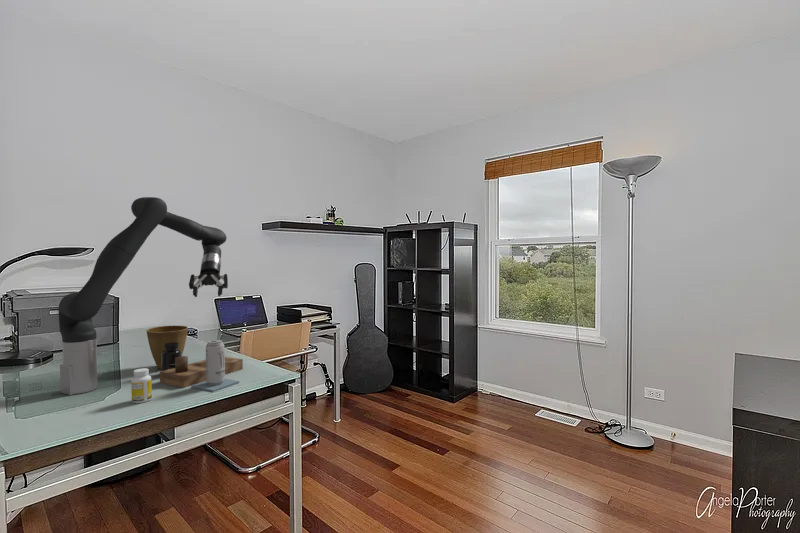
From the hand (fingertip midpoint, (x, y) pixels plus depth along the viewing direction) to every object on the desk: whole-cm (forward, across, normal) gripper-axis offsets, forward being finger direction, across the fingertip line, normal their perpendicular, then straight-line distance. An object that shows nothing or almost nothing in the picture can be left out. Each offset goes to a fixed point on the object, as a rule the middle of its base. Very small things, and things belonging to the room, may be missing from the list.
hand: (207, 295), depth 163 cm
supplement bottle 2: (+22, -13, +20) cm, 33 cm away
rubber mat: (+36, +5, +6) cm, 37 cm away
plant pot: (+14, -17, +29) cm, 36 cm away
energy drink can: (+36, +5, +6) cm, 37 cm away
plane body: (+27, -1, +16) cm, 31 cm away
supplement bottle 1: (+44, -15, -1) cm, 46 cm away
